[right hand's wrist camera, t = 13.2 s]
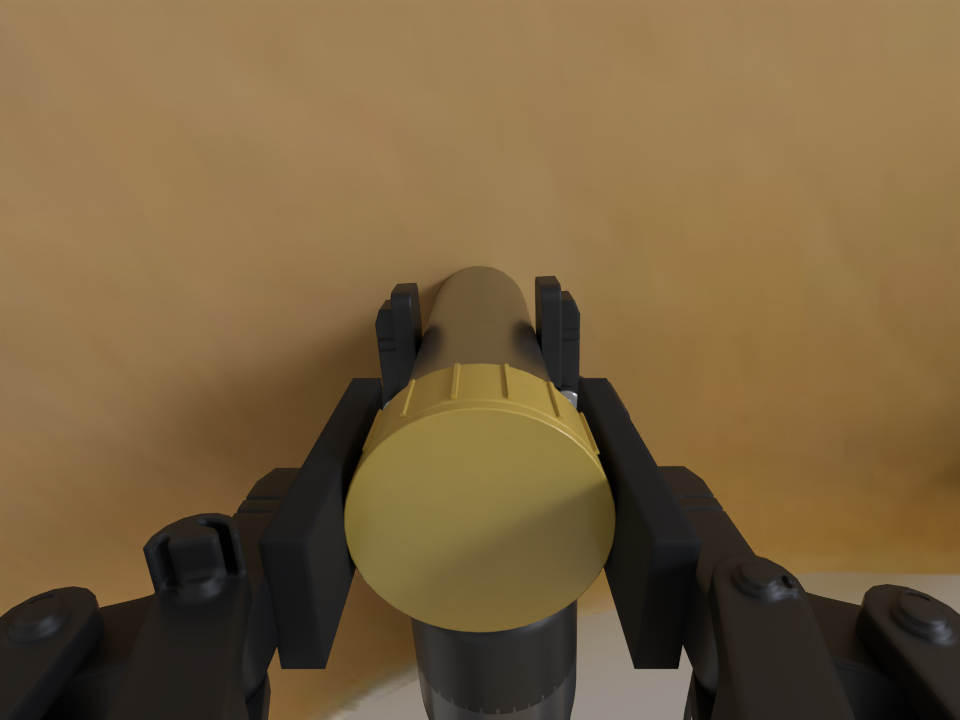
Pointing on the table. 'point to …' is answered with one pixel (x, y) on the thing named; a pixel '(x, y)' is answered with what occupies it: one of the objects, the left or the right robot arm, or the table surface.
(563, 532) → the lid
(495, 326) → the jar
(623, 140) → the table surface
